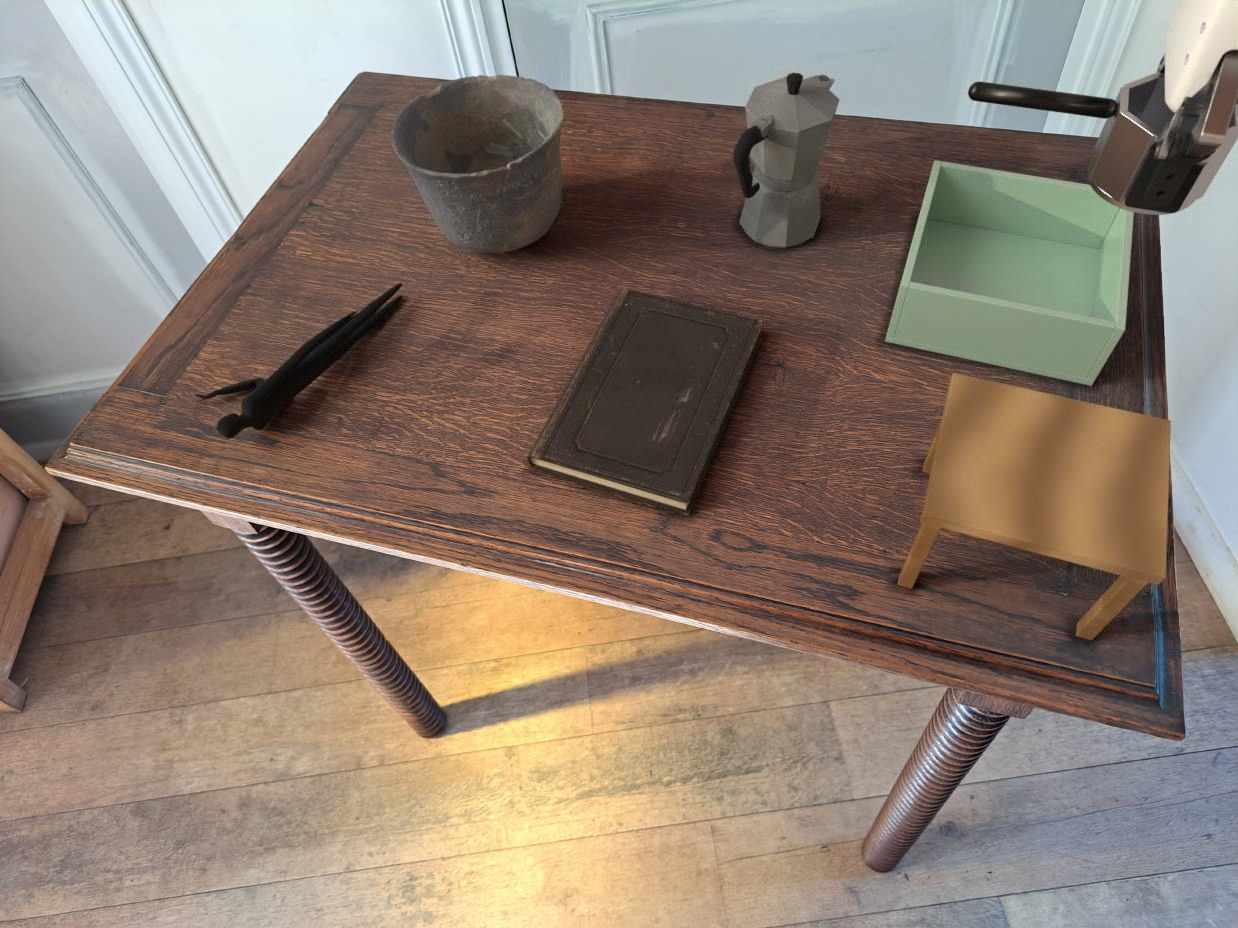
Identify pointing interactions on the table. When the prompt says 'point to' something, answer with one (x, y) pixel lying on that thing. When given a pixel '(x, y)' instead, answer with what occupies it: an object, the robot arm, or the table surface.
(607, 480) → the hardcover book
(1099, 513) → the stand
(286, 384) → the dark humanoid figurine
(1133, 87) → the saucepan
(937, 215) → the basin
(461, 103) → the cup
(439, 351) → the table surface
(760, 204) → the coffeepot
